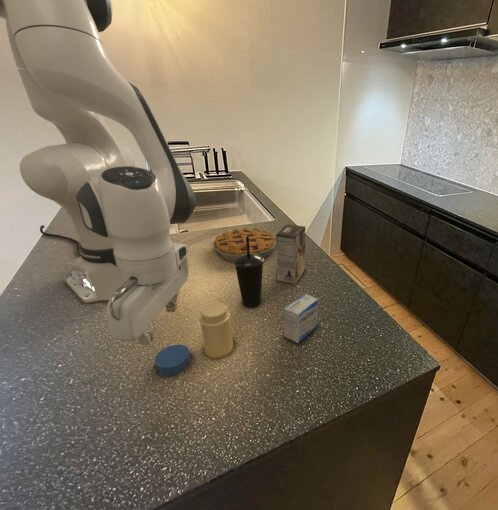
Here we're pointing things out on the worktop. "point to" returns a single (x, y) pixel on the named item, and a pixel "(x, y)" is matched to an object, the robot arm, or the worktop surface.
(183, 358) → the lid
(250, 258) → the drinking cup
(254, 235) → the pie
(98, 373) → the worktop surface
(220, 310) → the jar
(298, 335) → the medicine box
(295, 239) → the coffee box
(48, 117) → the robot arm
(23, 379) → the worktop surface
